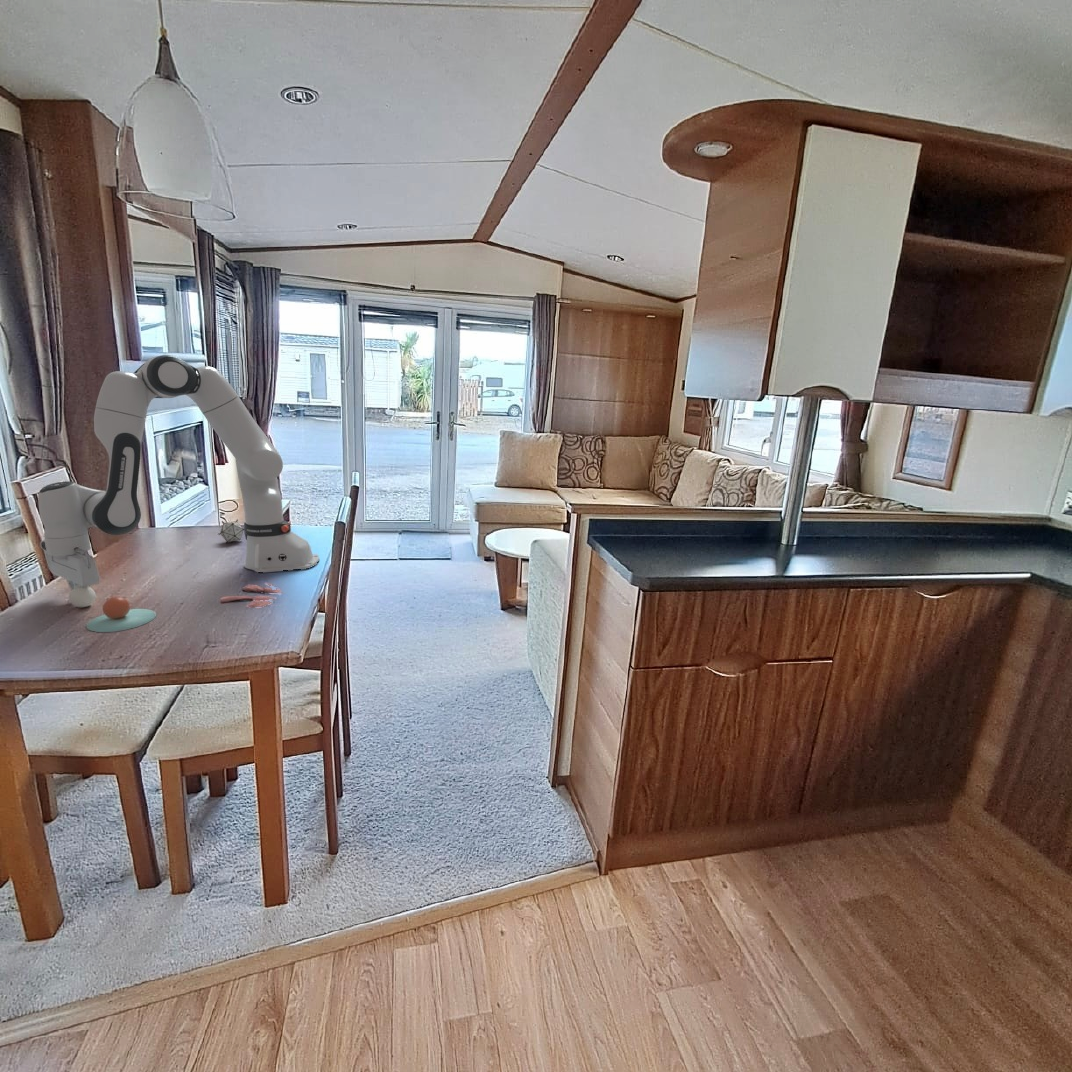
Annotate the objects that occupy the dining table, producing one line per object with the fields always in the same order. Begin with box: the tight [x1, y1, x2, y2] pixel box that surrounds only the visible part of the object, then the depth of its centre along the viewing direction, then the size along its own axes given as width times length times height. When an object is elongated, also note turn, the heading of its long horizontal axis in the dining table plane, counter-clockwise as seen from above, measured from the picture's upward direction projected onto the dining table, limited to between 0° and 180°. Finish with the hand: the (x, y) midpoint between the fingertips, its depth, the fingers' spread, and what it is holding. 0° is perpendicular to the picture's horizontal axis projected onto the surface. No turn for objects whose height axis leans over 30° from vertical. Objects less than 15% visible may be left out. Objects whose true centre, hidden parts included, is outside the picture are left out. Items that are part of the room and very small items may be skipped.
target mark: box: [86, 608, 157, 633], centre depth 141 cm, size 14×14×1 cm
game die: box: [217, 519, 244, 545], centre depth 209 cm, size 9×8×10 cm
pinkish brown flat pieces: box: [220, 582, 283, 608], centre depth 160 cm, size 20×22×2 cm
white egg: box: [68, 586, 97, 608], centre depth 148 cm, size 6×6×6 cm
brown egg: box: [102, 596, 131, 619], centre depth 142 cm, size 6×6×6 cm
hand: (78, 595), depth 152 cm, fingers closed
